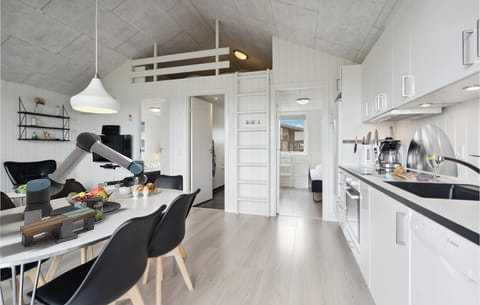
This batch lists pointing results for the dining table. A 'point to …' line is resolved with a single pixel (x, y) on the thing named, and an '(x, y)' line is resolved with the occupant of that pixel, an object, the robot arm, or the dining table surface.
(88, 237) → the dining table surface
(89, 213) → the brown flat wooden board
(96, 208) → the coffee can
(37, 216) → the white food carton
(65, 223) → the pivot stand
